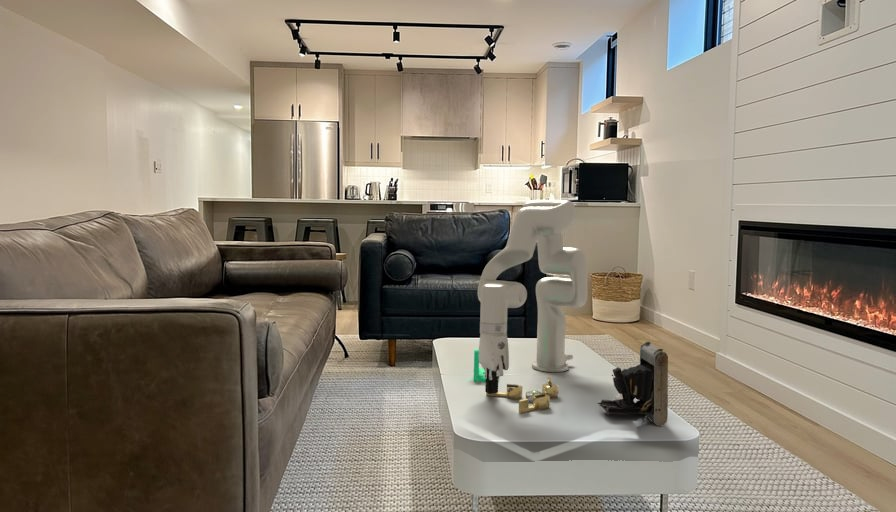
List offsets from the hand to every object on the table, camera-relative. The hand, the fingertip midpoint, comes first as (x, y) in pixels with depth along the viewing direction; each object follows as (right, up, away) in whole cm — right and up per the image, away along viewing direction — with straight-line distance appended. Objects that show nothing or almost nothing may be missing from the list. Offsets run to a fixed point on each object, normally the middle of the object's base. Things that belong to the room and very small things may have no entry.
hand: (491, 392), depth 163 cm
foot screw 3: (+17, -1, +5) cm, 18 cm away
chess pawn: (+38, -4, +3) cm, 38 cm away
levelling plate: (+12, -3, -1) cm, 13 cm away
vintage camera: (+35, -5, -12) cm, 38 cm away
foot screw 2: (+10, -2, -9) cm, 14 cm away
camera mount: (0, -2, +22) cm, 22 cm away
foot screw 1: (+4, -1, +2) cm, 4 cm away
